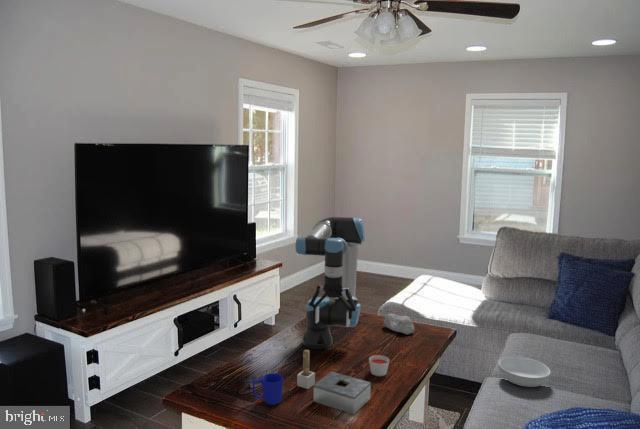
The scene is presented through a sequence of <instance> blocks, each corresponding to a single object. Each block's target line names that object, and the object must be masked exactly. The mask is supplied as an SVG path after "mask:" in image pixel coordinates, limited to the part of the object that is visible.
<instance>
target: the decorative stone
mask: <svg viewBox="0 0 640 429" xmlns="http://www.w3.org/2000/svg"><path fill="white" fill-rule="evenodd" d="M383 324H384V326H385V327H386V328H387V329H389V330H390V331H391V330H392V331H394V332H397V333H400V334H401V333H402V334H404V335H410V334H413V332H414V331H415V326H414V324H413V321H412V319H411V318H410V317H409V316H406V315H402V316H400V315H397V314H394V313H388V314H386V316H385V318H384V320H383Z"/></svg>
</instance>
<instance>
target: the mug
mask: <svg viewBox="0 0 640 429" xmlns="http://www.w3.org/2000/svg"><path fill="white" fill-rule="evenodd" d="M251 383H252V391H253V395H254V397H255V398H256V399H260V400H261V399H262V398H263V400H264V403H265V404H267V405H269V406H270V405H271V406H274V405H275V406H276V405H278V404H279V403H281V401H282V397H283V388H284V387H283V385H284V376H283V375H282V374H280V373H276V372H273V373H272V372H271V373H265V375H263V376H262V379H261V378H260V379H258V378H257V379H253V380H252V382H251ZM255 383H260V384H261V387H262V395H257V393H256V388H255Z"/></svg>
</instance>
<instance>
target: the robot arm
mask: <svg viewBox="0 0 640 429" xmlns="http://www.w3.org/2000/svg"><path fill="white" fill-rule="evenodd" d="M365 236H366V235H365V226H364V220H363V219H362V218H358V217H340V216H339V217H338V216H331V217H327V218H323V219H320V220H319V221H317V222H316V223H315V224H314V226H313V227H312V231H311V232H310V233H309V234H308V235H307V236H305V237H297V238H296V240H295V252H296V254H297V255H303V256H321V257H322V256H324V280H323V281H324V284H323V285H321V284H318V285H317V286H316V291H315V293H314V294H313V296H312V298H310V299H309V300H308V301H307V302H306V309H305V310H306V312H305V314H306V315H305V316H306V317H305V320H306V321H305V331H304V334H303V337H302V346H304V347H305V348H307V349H310V350H311V349H312V350H324V349H328V348H330V347H332V346H333V337H332V333H331V331H330V326H337V327H346V328H350V327H351V328H354V327H356V326H357V325H358V323H359V318H360V314H361V306H362V305H361V303H359V299H358V298H357V297H356V288H357V272H358V271H357V270H358V255H359V254H358V253H359V248H360V247H361V246H362V243H363V242H365ZM321 291H324V294H323V295H322V296H319V294H320V292H321ZM331 298H334V301H331Z"/></svg>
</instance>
